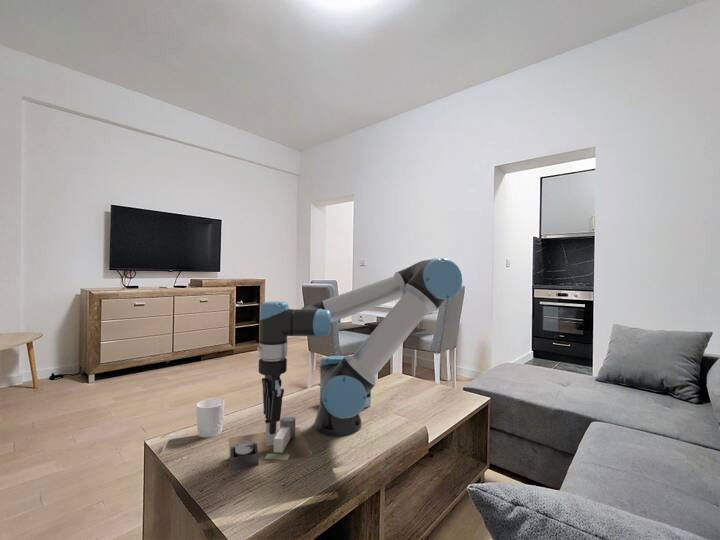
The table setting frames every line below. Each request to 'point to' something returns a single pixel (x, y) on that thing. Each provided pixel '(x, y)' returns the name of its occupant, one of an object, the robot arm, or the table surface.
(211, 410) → the white cup
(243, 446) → the button
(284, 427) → the peg lever
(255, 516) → the table surface
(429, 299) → the robot arm
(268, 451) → the board
